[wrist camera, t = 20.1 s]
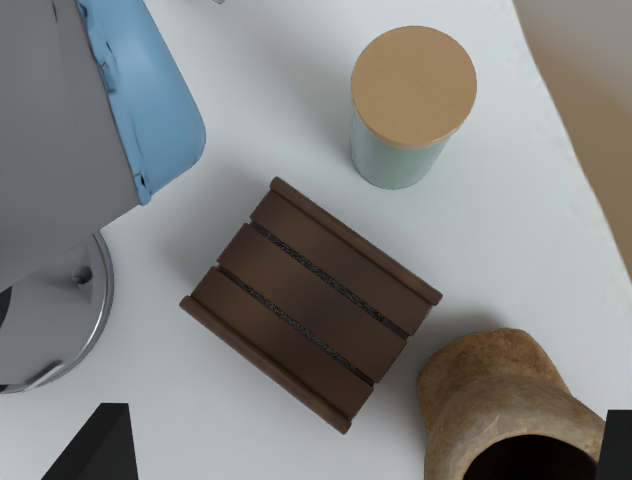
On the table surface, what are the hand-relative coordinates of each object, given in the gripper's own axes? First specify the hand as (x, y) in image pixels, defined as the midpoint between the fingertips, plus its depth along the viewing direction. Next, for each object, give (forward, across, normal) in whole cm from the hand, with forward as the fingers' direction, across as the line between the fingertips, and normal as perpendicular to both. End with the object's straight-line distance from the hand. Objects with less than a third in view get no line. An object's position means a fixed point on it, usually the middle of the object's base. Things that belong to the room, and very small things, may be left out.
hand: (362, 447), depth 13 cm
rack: (+21, -2, -5) cm, 22 cm away
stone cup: (+17, +10, -14) cm, 24 cm away
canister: (+26, +4, +6) cm, 27 cm away
